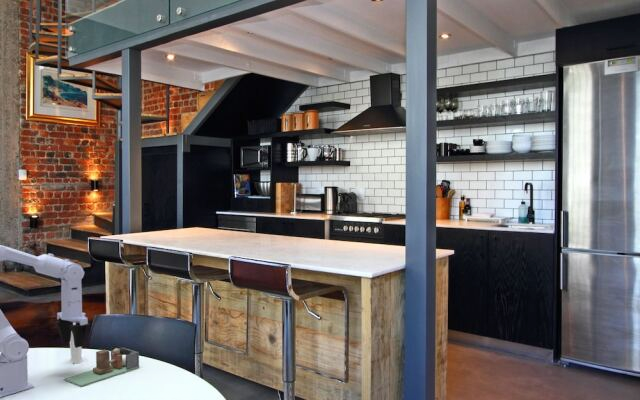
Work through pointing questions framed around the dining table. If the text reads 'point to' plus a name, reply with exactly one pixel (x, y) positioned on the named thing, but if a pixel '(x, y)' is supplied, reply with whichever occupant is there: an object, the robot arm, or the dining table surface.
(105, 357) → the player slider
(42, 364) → the dining table surface
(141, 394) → the dining table surface
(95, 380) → the pitch mat
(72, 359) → the perfume bottle
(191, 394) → the dining table surface
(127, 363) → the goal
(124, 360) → the ball
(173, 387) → the dining table surface
